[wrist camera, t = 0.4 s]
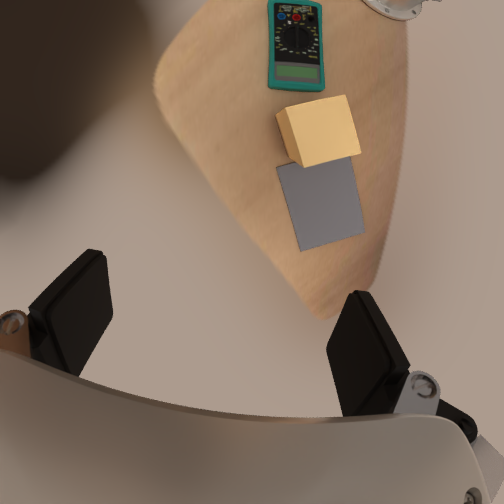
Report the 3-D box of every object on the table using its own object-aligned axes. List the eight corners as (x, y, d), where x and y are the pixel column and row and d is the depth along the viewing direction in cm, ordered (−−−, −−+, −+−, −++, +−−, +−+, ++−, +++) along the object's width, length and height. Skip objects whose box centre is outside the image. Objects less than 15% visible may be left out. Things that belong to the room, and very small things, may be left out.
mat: (347, 148, 35) (348, 148, 34) (364, 231, 40) (364, 232, 40) (276, 167, 36) (276, 167, 36) (300, 250, 41) (300, 251, 41)
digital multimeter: (318, 6, 26) (322, -1, 23) (321, 94, 32) (326, 91, 29) (267, 2, 26) (268, -7, 23) (267, 90, 32) (268, 87, 29)
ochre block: (316, 104, 32) (345, 94, 21) (328, 145, 35) (361, 153, 24) (274, 115, 33) (285, 107, 22) (288, 156, 35) (304, 167, 25)
